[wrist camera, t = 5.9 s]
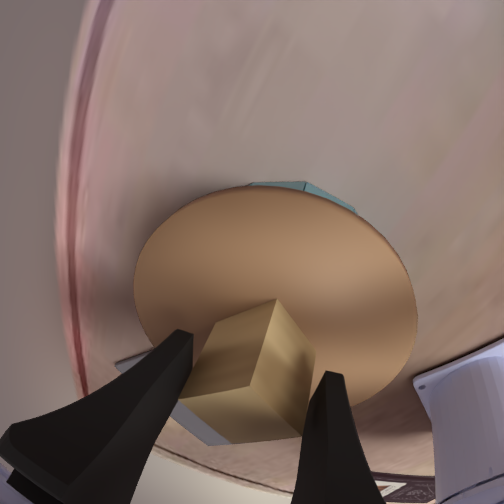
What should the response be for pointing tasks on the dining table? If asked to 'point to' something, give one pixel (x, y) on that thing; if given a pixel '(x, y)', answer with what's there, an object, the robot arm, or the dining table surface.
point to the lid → (274, 305)
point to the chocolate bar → (405, 487)
